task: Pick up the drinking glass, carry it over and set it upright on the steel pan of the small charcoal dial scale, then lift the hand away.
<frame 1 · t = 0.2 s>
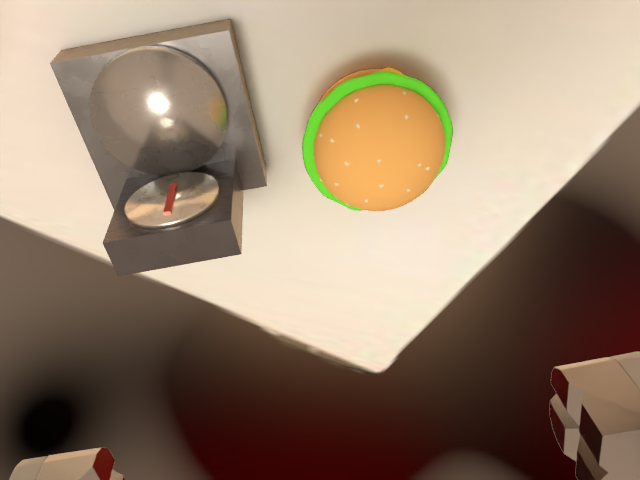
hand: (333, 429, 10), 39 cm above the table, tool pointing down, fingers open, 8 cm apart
dial scale: (171, 114, 47), on the table
hamburger: (368, 122, 49), on the table
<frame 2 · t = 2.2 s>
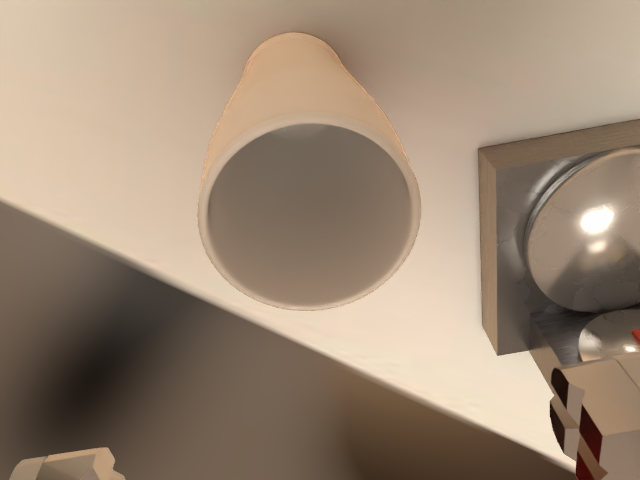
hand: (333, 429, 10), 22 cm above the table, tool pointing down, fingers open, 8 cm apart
dial scale: (584, 226, 35), on the table
drinking glass: (294, 82, 30), on the table
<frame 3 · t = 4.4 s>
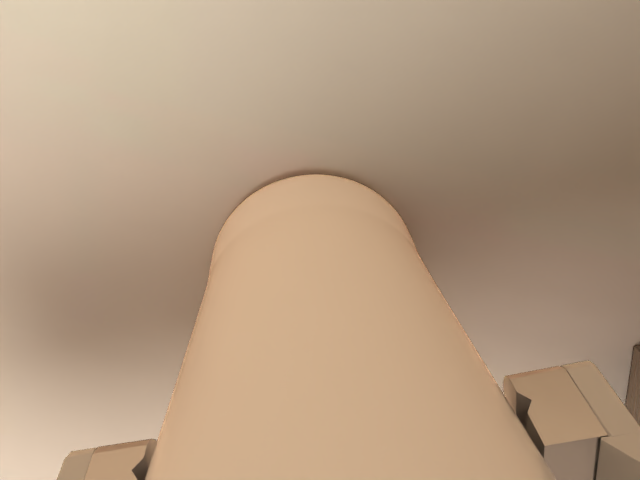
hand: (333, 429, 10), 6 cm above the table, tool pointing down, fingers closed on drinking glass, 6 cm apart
drinking glass: (311, 251, 16), on the table, touching gripper
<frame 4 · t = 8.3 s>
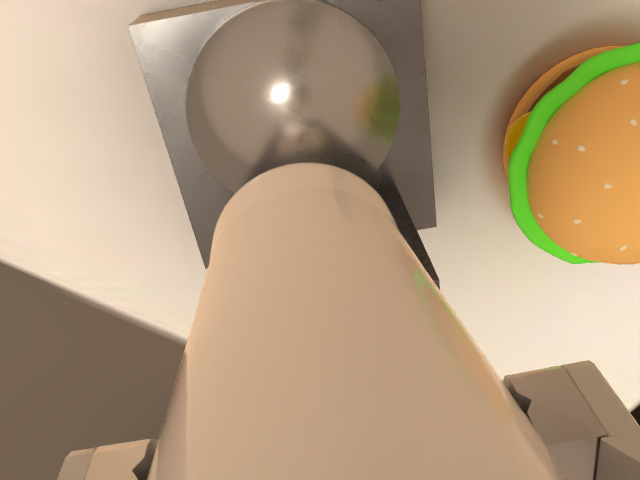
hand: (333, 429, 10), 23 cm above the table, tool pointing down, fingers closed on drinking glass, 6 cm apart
dial scale: (296, 118, 31), on the table
drinking glass: (303, 235, 17), point 15 cm above the table, touching gripper
hamburger: (582, 132, 33), on the table
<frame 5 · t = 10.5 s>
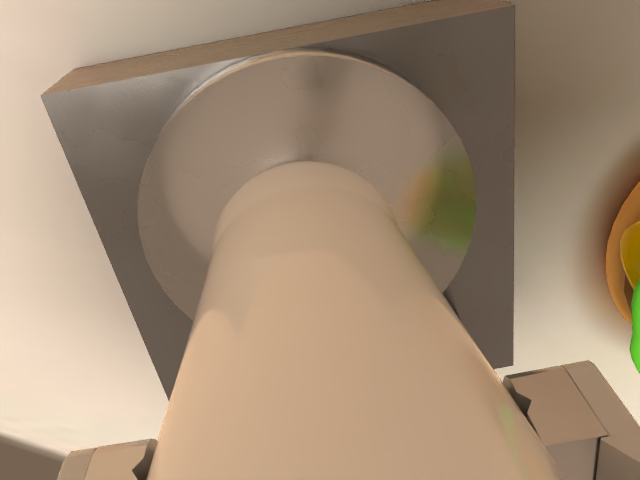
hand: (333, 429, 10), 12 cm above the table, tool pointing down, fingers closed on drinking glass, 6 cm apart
dial scale: (310, 211, 21), on the table
drinking glass: (304, 233, 17), point 4 cm above the table, touching dial scale, gripper
when the fingers open (12 cm above the table, at t = 11.2 s): drinking glass stays where it is, resting on dial scale.
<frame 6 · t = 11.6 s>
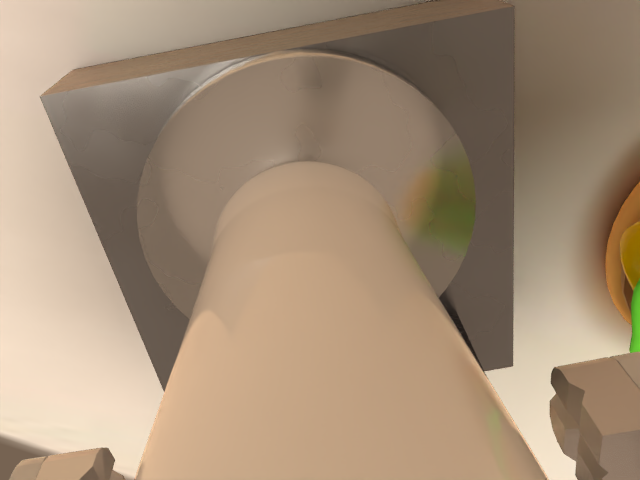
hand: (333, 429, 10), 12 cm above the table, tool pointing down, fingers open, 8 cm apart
dial scale: (310, 212, 21), on the table
drinking glass: (305, 233, 17), point 4 cm above the table, touching dial scale
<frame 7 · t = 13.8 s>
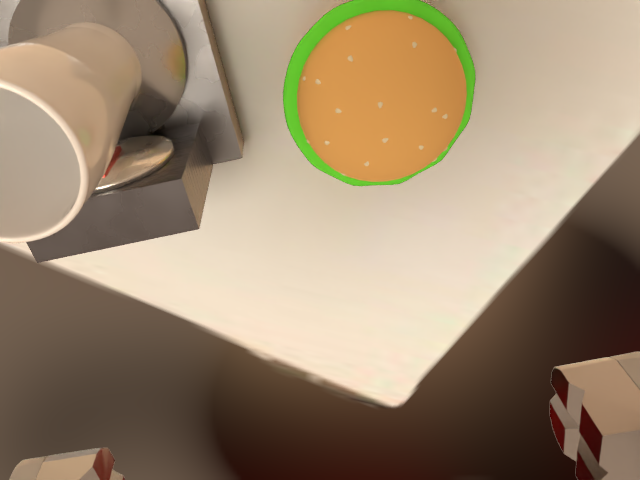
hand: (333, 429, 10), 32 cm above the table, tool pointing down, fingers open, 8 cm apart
dial scale: (122, 71, 38), on the table
drinking glass: (98, 66, 34), point 4 cm above the table, touching dial scale
hamburger: (368, 78, 40), on the table
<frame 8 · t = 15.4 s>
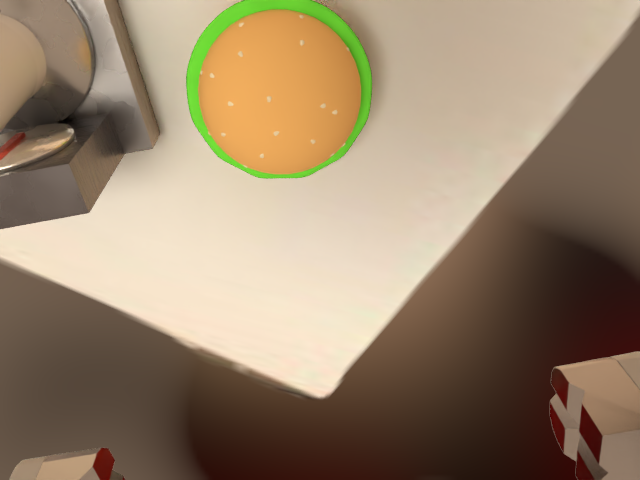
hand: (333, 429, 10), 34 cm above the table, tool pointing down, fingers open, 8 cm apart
dial scale: (38, 61, 39), on the table
drinking glass: (5, 55, 35), point 4 cm above the table, touching dial scale
hamburger: (279, 75, 41), on the table
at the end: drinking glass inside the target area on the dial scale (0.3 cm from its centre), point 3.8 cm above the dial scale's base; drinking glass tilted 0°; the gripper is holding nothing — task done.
